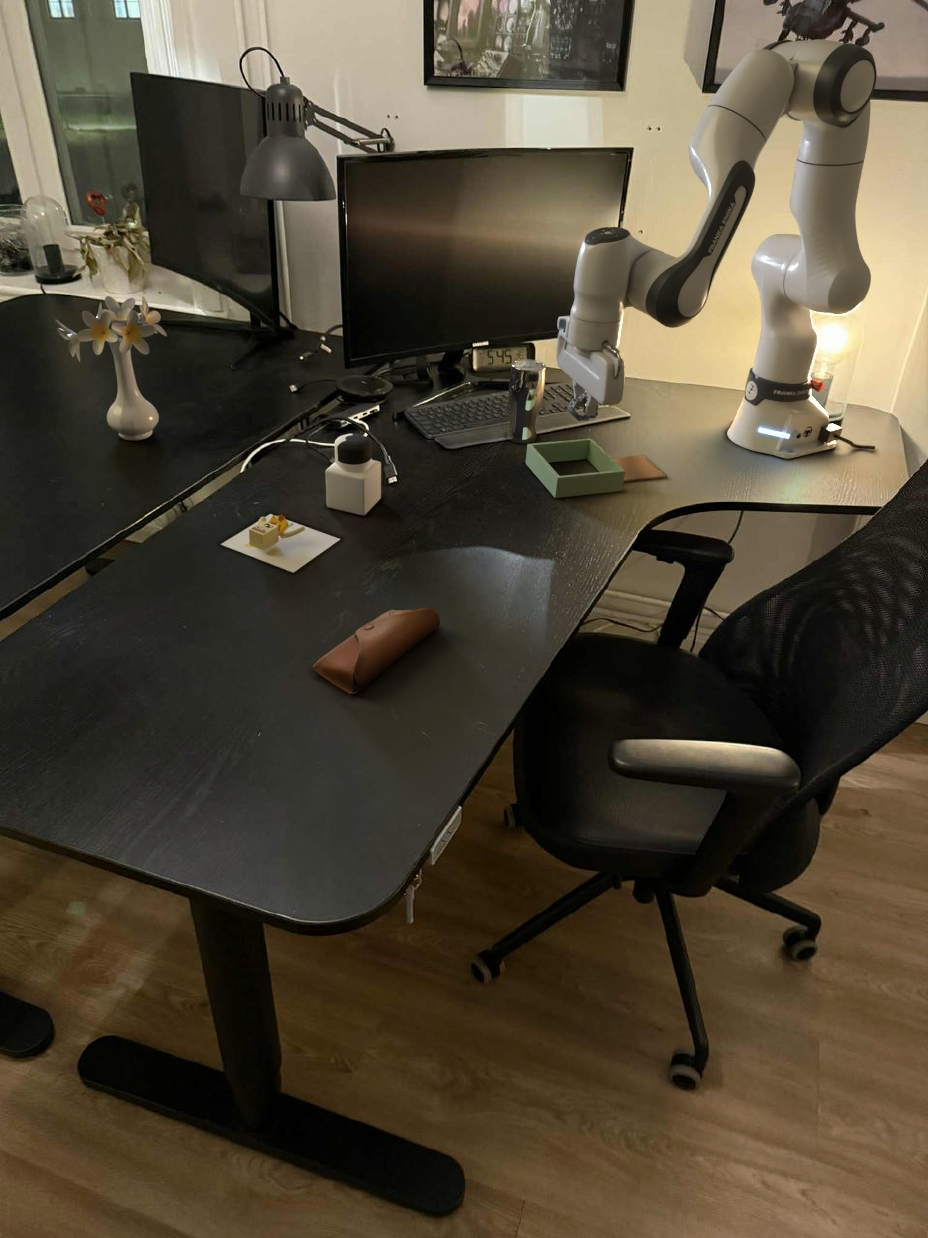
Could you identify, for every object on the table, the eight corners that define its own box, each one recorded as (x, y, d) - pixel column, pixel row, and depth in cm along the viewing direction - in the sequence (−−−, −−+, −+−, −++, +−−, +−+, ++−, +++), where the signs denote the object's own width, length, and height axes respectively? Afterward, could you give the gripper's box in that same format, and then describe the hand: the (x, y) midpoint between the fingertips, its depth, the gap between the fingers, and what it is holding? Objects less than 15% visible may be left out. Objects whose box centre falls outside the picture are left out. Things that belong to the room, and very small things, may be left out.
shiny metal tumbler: (536, 446, 172) (544, 373, 163) (501, 441, 173) (508, 368, 164) (540, 432, 177) (549, 361, 169) (507, 428, 178) (514, 356, 169)
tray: (588, 457, 169) (591, 438, 167) (621, 490, 158) (625, 471, 156) (525, 463, 165) (527, 443, 163) (555, 498, 154) (557, 477, 152)
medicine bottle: (381, 498, 151) (381, 434, 143) (364, 516, 145) (363, 451, 138) (344, 490, 152) (342, 426, 145) (326, 507, 147) (323, 442, 140)
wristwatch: (579, 423, 157) (563, 405, 154) (602, 405, 156) (587, 386, 153) (583, 431, 155) (568, 412, 152) (607, 412, 153) (591, 393, 150)
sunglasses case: (392, 605, 124) (412, 580, 119) (425, 641, 123) (447, 617, 118) (307, 669, 111) (326, 644, 106) (344, 709, 111) (364, 686, 106)
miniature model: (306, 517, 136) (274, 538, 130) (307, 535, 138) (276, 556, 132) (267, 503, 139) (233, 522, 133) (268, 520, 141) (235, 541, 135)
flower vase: (70, 438, 162) (40, 302, 148) (156, 412, 174) (136, 284, 159) (108, 461, 156) (80, 321, 141) (195, 433, 168) (177, 301, 153)
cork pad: (642, 457, 171) (642, 455, 170) (665, 477, 164) (665, 475, 164) (601, 461, 168) (601, 459, 168) (622, 482, 161) (623, 480, 161)
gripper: (639, 351, 139) (626, 431, 147) (586, 313, 155) (576, 387, 163) (604, 354, 137) (593, 435, 146) (553, 315, 153) (545, 390, 161)
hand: (584, 409), depth 154 cm, fingers closed on wristwatch, 2 cm apart
